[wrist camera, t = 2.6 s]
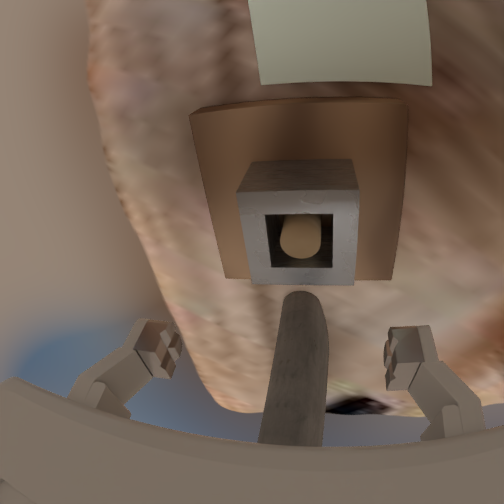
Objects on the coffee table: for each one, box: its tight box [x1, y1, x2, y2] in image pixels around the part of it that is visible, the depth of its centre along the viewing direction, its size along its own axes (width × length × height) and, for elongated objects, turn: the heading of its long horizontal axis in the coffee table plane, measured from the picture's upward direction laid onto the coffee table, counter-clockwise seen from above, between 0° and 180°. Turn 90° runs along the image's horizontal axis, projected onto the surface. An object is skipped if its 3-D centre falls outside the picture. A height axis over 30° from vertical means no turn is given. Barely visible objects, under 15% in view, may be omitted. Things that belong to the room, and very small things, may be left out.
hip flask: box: [257, 292, 329, 447], centre depth 22 cm, size 16×4×20 cm, turn 11°
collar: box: [236, 159, 360, 285], centre depth 17 cm, size 6×6×4 cm
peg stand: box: [189, 97, 408, 280], centre depth 18 cm, size 12×12×6 cm
